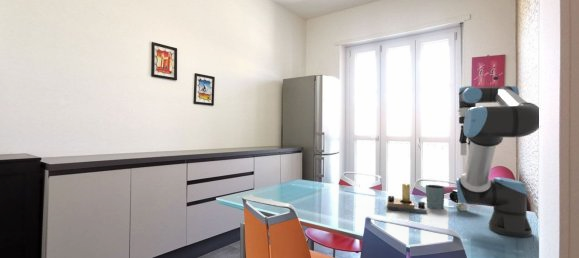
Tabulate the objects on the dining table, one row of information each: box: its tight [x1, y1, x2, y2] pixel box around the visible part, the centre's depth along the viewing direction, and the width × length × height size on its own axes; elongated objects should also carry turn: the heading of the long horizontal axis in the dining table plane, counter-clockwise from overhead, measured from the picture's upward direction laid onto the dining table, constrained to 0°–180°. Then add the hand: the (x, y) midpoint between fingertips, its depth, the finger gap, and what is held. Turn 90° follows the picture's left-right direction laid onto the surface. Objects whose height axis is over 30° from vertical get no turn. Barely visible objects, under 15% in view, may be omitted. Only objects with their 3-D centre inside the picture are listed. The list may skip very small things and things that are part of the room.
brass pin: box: [401, 183, 411, 204], centre depth 160 cm, size 4×4×14 cm
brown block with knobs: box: [386, 195, 428, 215], centre depth 160 cm, size 12×20×6 cm, turn 70°
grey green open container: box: [425, 184, 446, 210], centre depth 163 cm, size 10×10×12 cm
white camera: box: [449, 189, 468, 212], centre depth 157 cm, size 6×12×12 cm, turn 94°
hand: (467, 156), depth 148 cm, fingers open, 13 cm apart
